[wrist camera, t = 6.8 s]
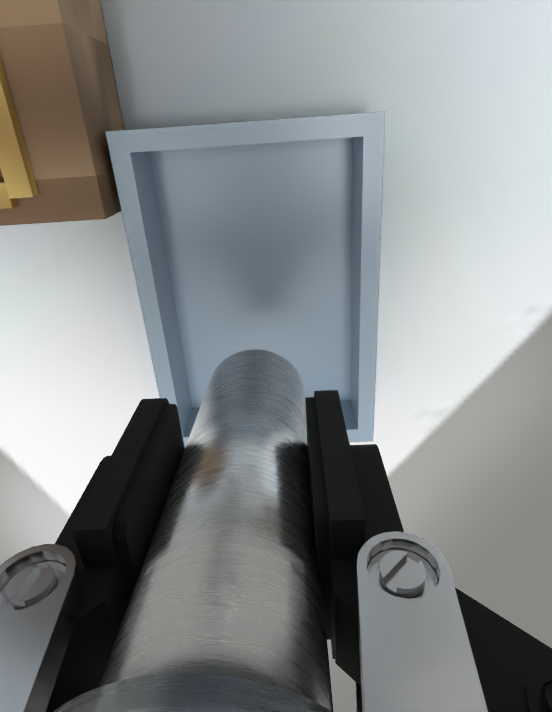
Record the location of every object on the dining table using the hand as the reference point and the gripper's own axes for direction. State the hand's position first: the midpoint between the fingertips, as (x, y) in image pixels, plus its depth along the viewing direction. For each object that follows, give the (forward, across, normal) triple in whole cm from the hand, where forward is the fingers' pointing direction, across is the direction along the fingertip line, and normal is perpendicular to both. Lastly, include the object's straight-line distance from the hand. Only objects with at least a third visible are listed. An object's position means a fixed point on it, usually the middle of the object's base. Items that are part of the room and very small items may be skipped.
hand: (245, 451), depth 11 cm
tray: (+12, 0, 0) cm, 12 cm away
